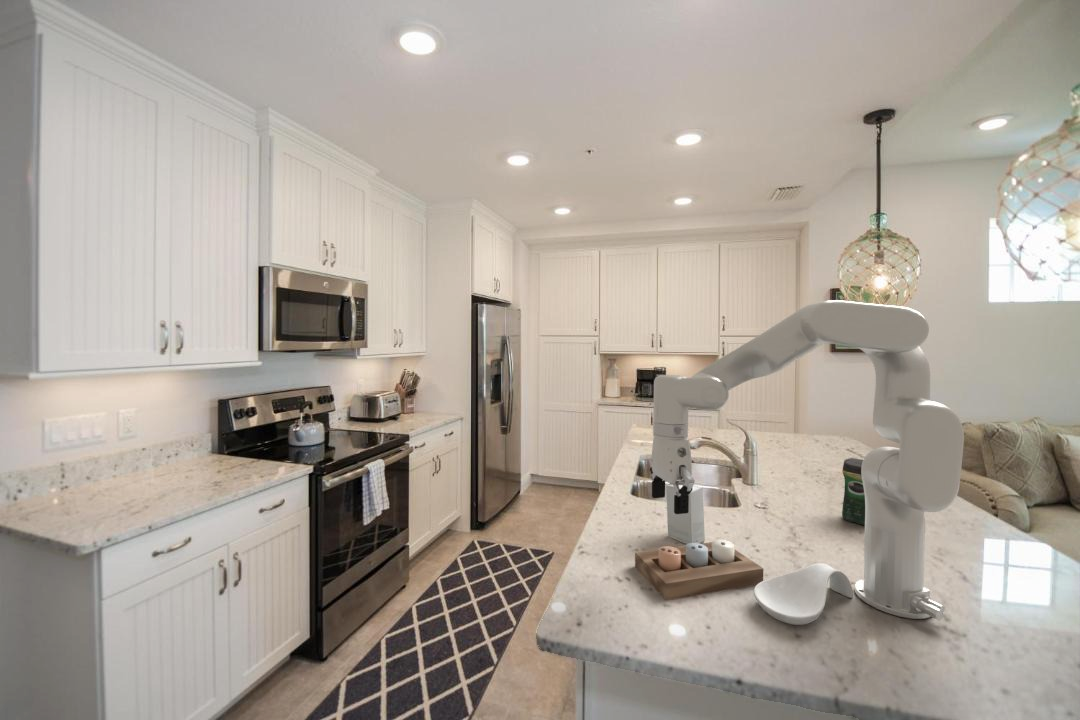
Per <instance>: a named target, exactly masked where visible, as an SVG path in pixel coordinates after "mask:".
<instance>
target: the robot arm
mask: <svg viewBox="0 0 1080 720" xmlns="http://www.w3.org/2000/svg"><path fill="white" fill-rule="evenodd" d="M929 330H930V327H929V322H928V320H927V319H926V318H925V317H924V315H923V314H922V313H920V312H919V311H917V310H915V309H913V308H910V307H906V306H899V305H889V304H875V303H866V302H857V301H848V300H838V299H837V300H836V299H835V300H834V299H833V300H832V299H831V300H830V299H829V300H824V301H819V302H815V303H811V304H807V305H805V306H804V307H802V308H800V309H799V310H796V311H795V312H793V313H792V314H790V315H789V316H786V318H784V319H783V320H780V322H778V323H776V324H775V325H774V326H772V327H770V328H768V329H767V330H765V331H763V332H762V333H761V334H759V335H758V336H756V337H754V338H752V339H751V340H749V341H747V342H746V343H743V344H742V345H740V346H739V347H737V348H736V349H734V350H732V351H731V352H729V353H726V355H724V356H722V357H720V358H718V359H717V360H715V361H713V362H712V363H711V364H708V365H707V366H706V367H704V368H703V369H701V370H699V371H698V372H697V373H694V374H693V375H692V376H691V377H686V376H683V375H679V374H677V375H676V374H660V375H657V376H655V378H654V379H653V409H652V410H653V412H652V413H653V424H652V426H653V427H652V431H653V432H652V436H653V440H652V450H651V457H650V458H649V459H648V463H649V471H650V474H651V476H650V480H651V498H653V499H663V498H665V497H666V483H668V484H672V485H673V486H674V489H675V492H676V495H674V513H675V514H685V513H688V512H689V496H690V494H691V491H692V487H693V485H694V484H695V479H694V478H693V466H692V464H693V463H692V451H691V444H690V439H689V409H696V410H700V411H707V412H709V411H711V412H712V411H717V410H719V409H721V408H723V407H724V406H725V405H726V403H727V402H728V400H729V394H730V393H729V391H731V390H732V389H734V388H736V387H738V386H740V385H741V384H743V383H746V382H748V381H751V380H753V379H758V378H763V377H767V376H770V375H774V374H775V373H778V372H780V371H782V370H784V369H785V368H787V367H788V366H790V365H792V364H793V363H794V362H796V361H798V360H799V359H800V358H803V357H804V356H806V355H808V354H809V353H811V352H813V351H815V350H817V349H818V348H820V347H821V346H823V345H825V344H826V345H827V344H828V345H829V344H832V345H837V346H838V345H841V346H846V347H852V348H858V349H859V350H861V351H862V352H863V353H864V354H865V355H867V356H868V358H869V359H870V361H871V362H872V364H873V367H874V372H875V385H874V386H875V388H874V389H875V390H874V401H873V412H872V425H873V428H874V430H875V431H876V433H878V434H879V435H880V436H881V437H883V438H884V439H887V440H889V441H891V442H894V443H897V444H899V447H894V446H880V447H876V448H873V449H872V450H870V451H869V452H868V453H866V455H865V456H864V458H863V459H862V460H863V462H862V467H861V474H862V481H863V487H864V494H865V525H864V542H863V543H864V548H863V549H864V550H863V551H864V553H863V579H860V580H857V581H856V582H855V583H854V593H855V594H856V595H857V596H858V598H859V599H861V600H862V601H863V602H864V603H866V604H867V605H869V606H871V607H873V608H875V609H877V610H879V611H881V612H884V613H887V614H890V615H893V616H897V617H901V618H905V619H913V620H923V619H929V618H930V617H932V618H934V619H935V620H938V621H941V620H942V619H943V618H944V611H945V610H946V608H945V606H944V605H942V604H941V603H939V602H936V601H934V600H932V598H931V590H930V589H928V588H926V587H925V551H926V548H925V545H926V544H925V543H926V541H925V540H926V515H925V513H937V512H941V511H944V510H946V509H947V508H949V507H950V506H951V505H952V504H953V503H954V502H955V500H956V498H957V496H958V494H959V490H960V485H961V476H962V465H963V464H962V463H963V454H964V445H965V444H964V443H965V442H964V441H965V434H964V433H965V431H964V427H963V425H962V422H961V420H960V417H959V416H958V415H957V414H956V413H955V411H954V410H952V409H951V408H950V407H948V406H947V405H944V404H942V403H940V402H937V401H934V400H933V401H932V400H931V367H930V363H929V361H928V360H929V359H928V358H927V357H926V354H925V353H924V350H923V349H922V348H921V346H922V345H923V343H924V342H925V341H926V340H927V338H928V336H929V332H930V331H929ZM678 485H682V486H683V487H682V488H681V489H680V488H679V486H678Z"/></svg>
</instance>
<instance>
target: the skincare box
mask: <svg viewBox="0 0 1080 720" xmlns="http://www.w3.org/2000/svg"><path fill="white" fill-rule="evenodd" d="M678 486H679V488H680V489H681V488H682V487H683V486H682V485H678ZM703 489H704V488H703V487H702V486H700V485H693V487H692V491H691V494H690V496H689V512H688V513H685V514H675V513H674V495H676V492H675V489H674V486H673V485H672V484H670V483H668V484H665V495H666V516H667V517H666V518H667V536H668V537H669V538H671V539H674V540H675V541H679V542H680V543H683V544H684V545H687V544H688V543H699V544H700V543H705V541H706V540H705V539H706V538H705V536H706V535H705V514H704V513H705V509H704V490H703Z"/></svg>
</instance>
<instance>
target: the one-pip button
mask: <svg viewBox="0 0 1080 720" xmlns="http://www.w3.org/2000/svg"><path fill="white" fill-rule="evenodd" d="M711 542H712V558H713V559H714V560H715V561H717V562H718V563H719V564H725V563H731V562H734V549H735V544H734V543H733V542H731V541H729V540H725V539H713V540H712V541H711Z"/></svg>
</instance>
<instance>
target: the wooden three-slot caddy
mask: <svg viewBox="0 0 1080 720" xmlns="http://www.w3.org/2000/svg"><path fill="white" fill-rule="evenodd" d="M700 544H702V545H705V546H706V547H707V548H708V566H704V567H698V568H692V567H691V566H690V565H689V564H687V563H686V545H687V544H684V545H679V546H673V547H674V548H677V549H678V550H680V552H681V570H677V571H671V572H664V571H663V570H662V569H661V568H660V567H659V548H658V549H651V550H650V549H649V550H641V551H640V550H639V551H635V552H634V567H635V568H636V569H637V571H639V572H640V574H641V575H642V576H643V577H644V578H645V580H647V581H648V583H650V585H651V586H652V587H653V588H654V589H655V590H656V591H657V593H659V594H660V595H661V596H662V597H663V598H664V600H666V601H668V600H674V599H680V598H685V597H686V598H687V597H692V596H693V597H694V596H698V595H699V596H700V595H704V594H711V593H716V592H722V591H723V592H724V591H728V590H734V589H742V588H747V587H753V586H754V587H755V586H756V585H757V584H758V583H760V582H762V581H764V567H762V566H760V564H758V563H756V562H755V561H753V560H752V559H750V558H749V557H747V556H745V555H744V554H743V553H741V552H740V551H739V550H737V549H735V548H734V562H731V563H725V564H719V563H718V562H717V561H715V560H714V559H713V558H712V541H709V542H702V543H700Z"/></svg>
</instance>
